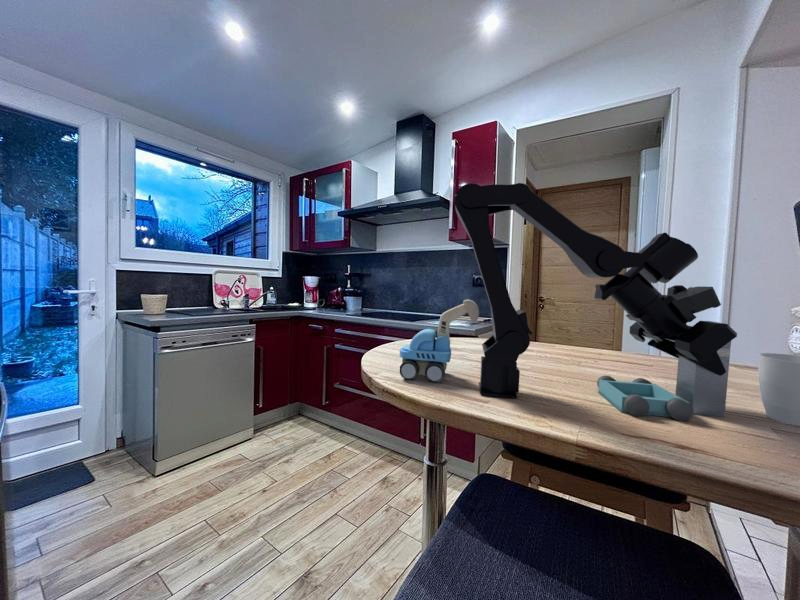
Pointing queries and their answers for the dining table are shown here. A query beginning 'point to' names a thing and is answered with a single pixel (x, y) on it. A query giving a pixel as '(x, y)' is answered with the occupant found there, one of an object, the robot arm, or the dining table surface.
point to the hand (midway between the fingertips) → (711, 369)
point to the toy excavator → (433, 346)
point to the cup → (780, 386)
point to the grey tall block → (704, 385)
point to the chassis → (643, 398)
